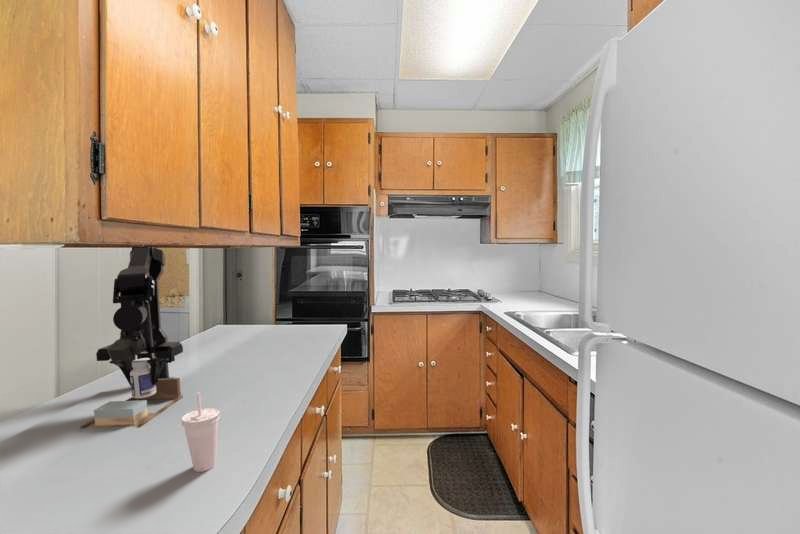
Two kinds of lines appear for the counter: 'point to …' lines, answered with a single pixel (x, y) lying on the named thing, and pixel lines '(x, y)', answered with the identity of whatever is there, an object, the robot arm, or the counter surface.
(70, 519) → the counter surface
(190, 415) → the smoothie
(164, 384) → the rack
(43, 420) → the counter surface
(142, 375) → the pill bottle
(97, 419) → the offcut lower
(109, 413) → the offcut upper
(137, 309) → the robot arm
